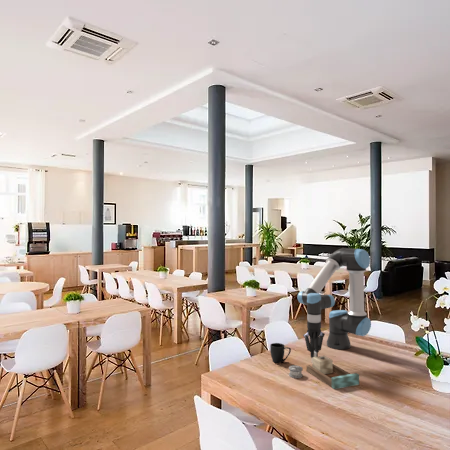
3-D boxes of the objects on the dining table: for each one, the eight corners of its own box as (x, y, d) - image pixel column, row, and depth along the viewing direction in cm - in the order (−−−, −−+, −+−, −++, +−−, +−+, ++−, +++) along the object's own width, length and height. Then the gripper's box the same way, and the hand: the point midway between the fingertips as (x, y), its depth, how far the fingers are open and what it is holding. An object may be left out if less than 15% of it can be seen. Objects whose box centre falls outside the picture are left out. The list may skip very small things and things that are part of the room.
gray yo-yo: (298, 372, 198) (297, 364, 198) (305, 377, 191) (305, 369, 191) (286, 374, 195) (286, 366, 195) (293, 379, 188) (293, 371, 189)
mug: (288, 366, 206) (288, 349, 206) (268, 362, 212) (268, 346, 212) (292, 361, 213) (292, 345, 214) (273, 358, 219) (273, 342, 219)
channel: (329, 367, 204) (329, 358, 204) (359, 384, 182) (359, 374, 182) (306, 371, 199) (306, 361, 199) (334, 389, 176) (334, 378, 176)
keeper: (324, 368, 202) (324, 354, 202) (332, 372, 196) (332, 358, 196) (312, 370, 200) (312, 356, 200) (319, 374, 193) (319, 360, 193)
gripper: (319, 318, 211) (320, 359, 211) (300, 320, 206) (300, 362, 206) (327, 321, 204) (328, 364, 204) (307, 324, 199) (307, 367, 199)
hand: (314, 363), depth 205 cm, fingers closed
